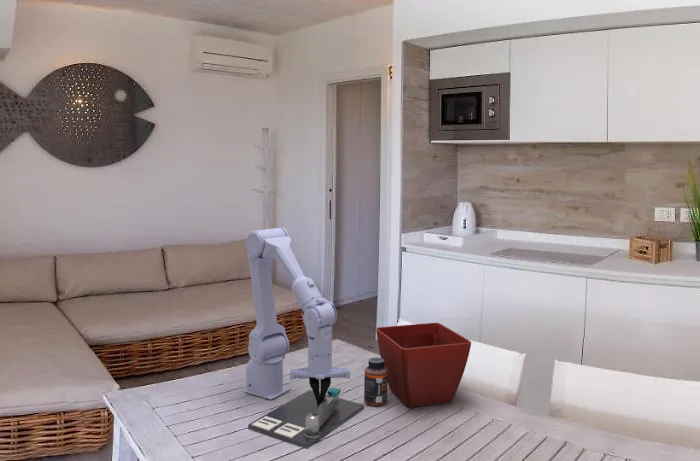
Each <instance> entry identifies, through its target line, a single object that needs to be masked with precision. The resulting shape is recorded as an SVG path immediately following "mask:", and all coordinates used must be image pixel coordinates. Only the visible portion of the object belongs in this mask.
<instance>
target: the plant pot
mask: <svg viewBox="0 0 700 461" xmlns="http://www.w3.org/2000/svg"><path fill="white" fill-rule="evenodd" d="M375 329H376V330H375V331H376V337H377V344H378V345H377V346H378V350H379V356H380V357H379V358H382V359H384V367H386V368H387V370H388V382H387V386H388V389H389V391H391V392H392V393H393V394H394V396H396V398H398V399H399V401H401V403H403V404H404V406H406V407H408V408H415V407H423V406H430V405H438V404H447V403H451V402H453V400H454V398H455V395H456V392H457V390H458V389H459V386H460V384H461V382H462V379H463V376H464V372H465V369H466V366H467V363H468V359H469V356H470V352H471V351H470V350H471V348H472V341H471V340H469V339H468V338H466V337H464V336H463V335H461V334H459V333H457V332H456V331H454V330H453V329H451V328H449V327H447V326H445V325H443V324H441V323H439V322H428V323H427V322H426V323H416V324H414V323H413V324H405V325H403V324H401V325H392V326H382V327H381V326H380V327H379V326H378V327H376V328H375Z"/></svg>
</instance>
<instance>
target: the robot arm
mask: <svg viewBox="0 0 700 461" xmlns="http://www.w3.org/2000/svg"><path fill="white" fill-rule="evenodd" d="M245 248H246V255H247V261H248V263H249V272H250V280H251V287H252V289H251V290H252V295H253V296H252V297H253V304H254V305H253V306H254V313H255V321H256V325H255V326H254V328H253V329H252V330H251V331H250V333H248V339H249V340H248V342H249V343H248V348H247V349H248V355H249V357H250V359H249V360H248V362H247V364H246V370H245V371H246V372H245V373H246V375H245V376H246V379H245V380H246V389H245V390H244V392H245V393H247V394H250V395H253V396H257V397H260V398H265V399H267V400H271V401H272V400H274V399H275V398H278V397H280V396H281V395H283V394H285V393H287V392H288V391H290V390H291V389H290V387H287V386H285V385H284V370H283V368H284V367H283V366H284V365H283V364H284V359H286V355H287V354H288V352H289V350H290V341H289V338H288V337H287V336H288V335H287V334H286V328H285V327H284V326H282V325H281V324H280V323H278V320H277V312H276V303H275V295H274V287H273V281H272V280H273V279H272V270H271V263H272V262H273V260H275V261H277V264H278V265H279V266H280V267H281V269H282V271H283V272H284V273H285V275H286V276H287V277H288V279H289V280H290V282H291V283H292V286H291V288H290V289H291V293H292V294H293V296H294V297H295V299H296V301H297V303H298V304H299V306H300V308H301V310H302V312H303V315H302V321H303V324H304V325H305V326H304V327H305V334H306V335H307V341H308V342H307V357H308V358H307V360H308V361H307V365H308V366H307V367H301V368H294V369H293V368H292V369H289V380H291V381H292V380H293V381H294V380H295V379H296V380H298V379H308V382H309V383H308V384H309V386H310V388H311V391H313V392H314V395H315V398H316V402H317V408H318V406H319V405H320V404H321V403H322V402H323V401H324V398H325V395H327V391H328V390H329V389H330V388H331V384H332V379H346V380H347V379H349V380H350V379H351V369H350V367H349V368H348V367H347V368H345V367H337V366H335V367H334V366H332V365H333V364H332V363H333V325H335V323H336V322H337V320H338V311H337V308H336V307H335V304H333V303H332V301H328V299H327V298H325V297H323V296H322V294H321V292H320V290H319V289H318V287H317V285H316V284H315V282H314V280H313V279H312V278H311V277H308V276H305V274H304V273H303V270H302V268H301V266H300V265H299V264H300V263H299V262H298V260H297V258H296V256H295V254H294V252H293V250H292V238H291V237H290V235H289V233H288V231H287V229H286V228H284V227H281V226H279V227H275V228H268V229H267V228H266V229H258V230H257V229H252V230H251V231H250V232H249V233H248V235H247V236H246V238H245Z"/></svg>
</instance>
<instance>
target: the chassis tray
mask: <svg viewBox="0 0 700 461" xmlns="http://www.w3.org/2000/svg"><path fill="white" fill-rule="evenodd" d="M328 395H329V394H326V395H325V398H326V397H327V396H328ZM325 398H324V399H325ZM316 409H317V402H316V398H315V395H314V392H313V390H312V389H309V390H307V391H305V392H303V393H301V394H300V395H298V396H296V397H294V398H293V399H290V401H287V402H286V403H283V404H281V405H280V406H278V407H276V408H275V409H274V410H273V409H272V410H271V411H270V412H268V413H267V414H264V415H263V416H260V417H259V418H258V419H256V420H254V421H252V422H250V423H249V424H248V425H247V428H248V429H249V430H251V431H253V432H257V433H260V434H263V435H266V436H269V437H272V438H274V439H277V440H280V441H284V442H286V443H289V444H293V445H295V446H299V447H302V448H304V449H310V447H312V446H313V445H315V444H316V443H317V442H319V441H320V440H322V439H323V438H324V437H326V436H327V435H328V434H330V433H331V432H333V431H334V430H337V428H338V427H341V425H343V424H344V423H346V422H347V421H349V420H350V419H351V418H353V417H354V416H356V415H357V414H358V413H360V412H361V411H362V410H364V409H365V404H363V403H359V402H355V401H352V400H348V399H343V398H341V397H339V405H338V406H337V407H336V408H335V410H334V411H333V412H332V413H331V415H330V416H329V417H328V418H327V420H326V421H325V422H324V423H323V425H322V426H321V427H320V428H319V431H320V432H321V436H320V437H319V438H317V439H308V438H305V437H304V432H305V431H306V415H307V414H309V413H313V412H314V411H315V410H316ZM265 416H267V417H270V418H274V419H277V420H280V421H283V423H281V424H279V425H278V426H276V427H274V428H273V429H271V430H269V431H267V430H264V429H261V428H258V427H255V426H252V424H253V423H255V422H257V421H258V420H260V419H262V418H264V417H265ZM287 423H290V424H293V425H296V426H299V427H302V428H305V430H304V431H302V432H300V433H299V434H297V435H296V436H294V437H293V438H289V437H286V436H283V435H280V434H277V433H274V431H275V430H277V429H279V428H280V427H282V426H283V425H285V424H287Z"/></svg>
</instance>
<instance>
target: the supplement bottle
mask: <svg viewBox="0 0 700 461" xmlns="http://www.w3.org/2000/svg"><path fill="white" fill-rule="evenodd" d="M363 383H364V384H363V386H364V387H363V388H364V389H363V392H364V393H363V394H364V395H363V397H364V400H363V401H364V403H366V405H369V406H372V407H373V406H374V407H380V406H384V405H386V404H387V402H388V370H387V368H386V367H384V359H382V358H381V357H371V358H369V359H368V364H367V366H365V368H364V382H363Z"/></svg>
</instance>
